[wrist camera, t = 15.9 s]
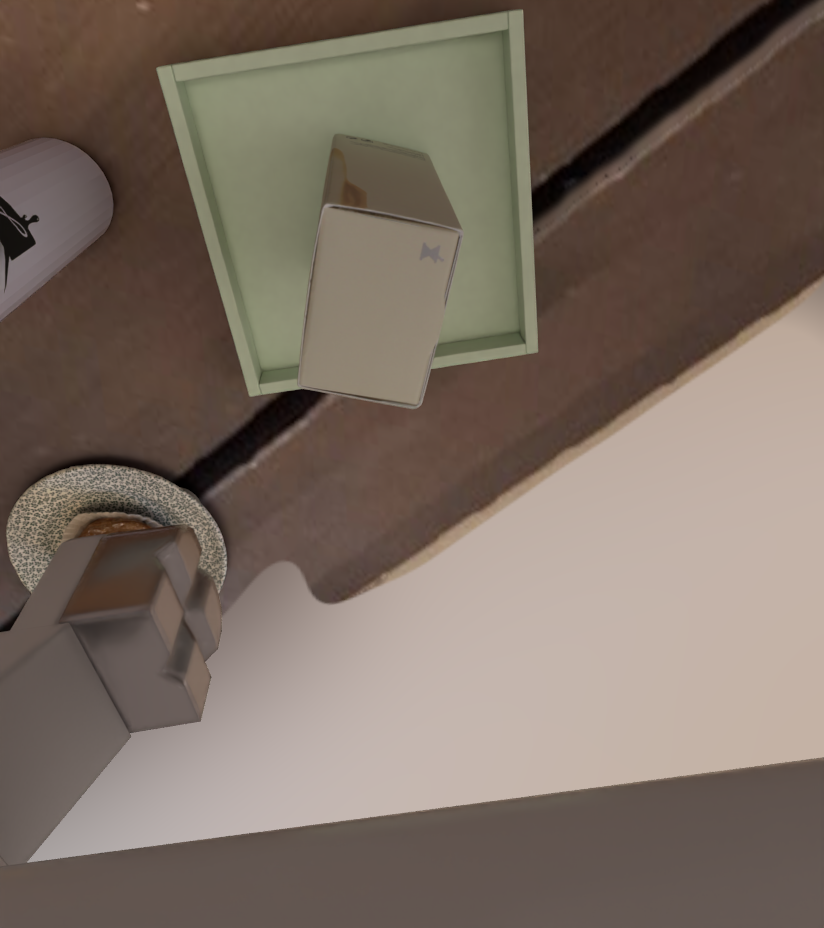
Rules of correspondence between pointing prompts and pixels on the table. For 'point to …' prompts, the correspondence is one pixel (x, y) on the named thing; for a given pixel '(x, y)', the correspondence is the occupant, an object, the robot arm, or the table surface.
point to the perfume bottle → (46, 214)
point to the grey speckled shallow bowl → (104, 515)
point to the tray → (306, 160)
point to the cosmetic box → (378, 274)
